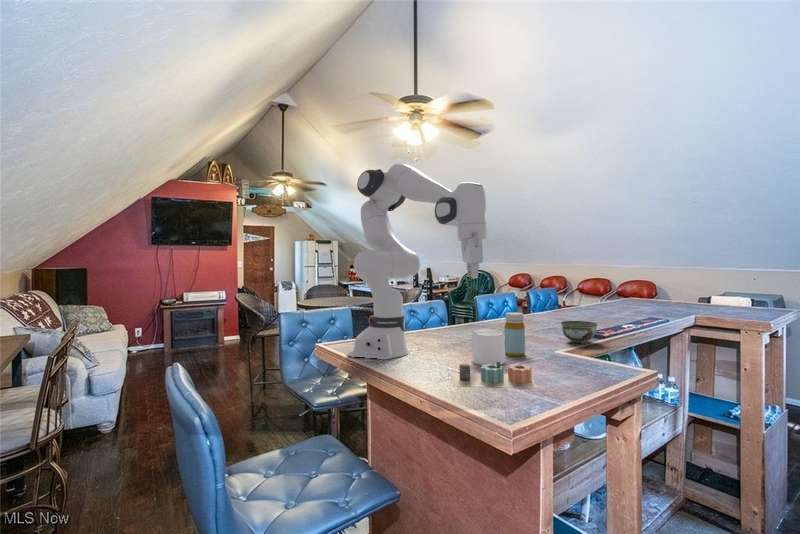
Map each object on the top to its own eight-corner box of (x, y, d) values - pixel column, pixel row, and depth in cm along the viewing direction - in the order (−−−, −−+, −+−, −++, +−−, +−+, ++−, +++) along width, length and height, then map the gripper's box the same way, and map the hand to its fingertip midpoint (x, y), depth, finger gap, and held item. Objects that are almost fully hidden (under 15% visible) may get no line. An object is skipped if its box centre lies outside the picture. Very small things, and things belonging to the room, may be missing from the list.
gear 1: (484, 383, 105) (483, 365, 105) (478, 376, 111) (478, 359, 111) (506, 383, 105) (506, 364, 105) (499, 376, 111) (499, 358, 111)
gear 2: (511, 384, 104) (511, 370, 104) (505, 377, 110) (505, 364, 110) (534, 383, 104) (534, 370, 104) (527, 376, 110) (527, 364, 110)
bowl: (595, 347, 149) (595, 326, 148) (558, 344, 156) (558, 324, 156) (598, 340, 160) (598, 321, 160) (564, 338, 167) (563, 319, 167)
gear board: (452, 390, 104) (452, 371, 103) (452, 377, 115) (451, 359, 115) (538, 392, 101) (537, 372, 101) (528, 378, 113) (528, 360, 113)
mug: (464, 359, 135) (464, 329, 135) (492, 357, 137) (491, 327, 137) (480, 370, 122) (479, 336, 122) (510, 368, 124) (509, 334, 124)
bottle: (526, 357, 136) (525, 314, 136) (505, 356, 138) (504, 314, 138) (523, 352, 143) (523, 312, 143) (504, 352, 145) (503, 311, 144)
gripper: (487, 231, 111) (488, 279, 111) (477, 235, 132) (477, 276, 132) (465, 231, 111) (466, 279, 112) (458, 235, 132) (459, 276, 132)
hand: (472, 277), depth 122 cm, fingers open, 8 cm apart
